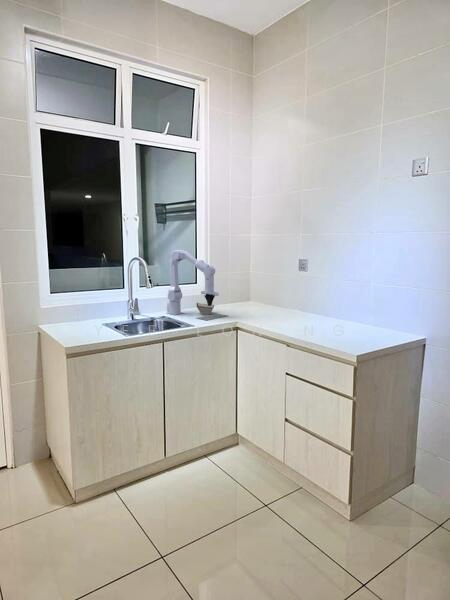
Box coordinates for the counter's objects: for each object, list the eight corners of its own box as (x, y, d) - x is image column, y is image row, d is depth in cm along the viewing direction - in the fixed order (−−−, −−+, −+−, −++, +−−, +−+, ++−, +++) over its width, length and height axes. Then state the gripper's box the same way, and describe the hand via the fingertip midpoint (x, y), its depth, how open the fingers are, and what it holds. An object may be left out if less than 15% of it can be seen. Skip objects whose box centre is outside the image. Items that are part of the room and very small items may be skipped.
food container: (213, 317, 265) (212, 312, 275) (214, 309, 264) (214, 304, 273) (195, 315, 264) (195, 310, 273) (196, 306, 262) (196, 302, 272)
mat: (196, 318, 253) (196, 318, 253) (217, 314, 267) (217, 313, 267) (206, 320, 246) (206, 320, 246) (228, 316, 260) (228, 315, 260)
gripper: (197, 284, 257) (197, 305, 259) (212, 286, 247) (213, 307, 249) (205, 284, 262) (205, 303, 264) (220, 285, 252) (220, 306, 254)
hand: (209, 305), depth 257 cm, fingers closed
